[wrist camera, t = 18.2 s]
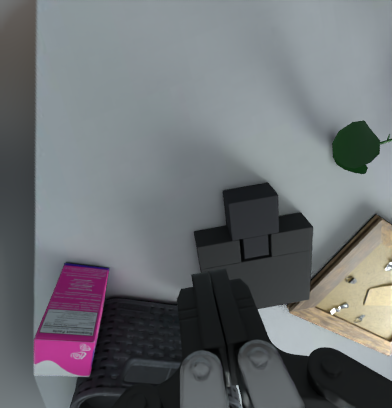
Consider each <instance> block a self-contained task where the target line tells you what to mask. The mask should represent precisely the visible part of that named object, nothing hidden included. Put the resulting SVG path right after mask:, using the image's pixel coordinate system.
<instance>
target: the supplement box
mask: <svg viewBox="0 0 392 408" xmlns="http://www.w3.org/2000/svg"><path fill="white" fill-rule="evenodd" d="M108 273H109V268H103V267H95V266H87V265H79V264H71V263H65V264H64V267H63V269H62V272H61V274H60V277H59V279H58V282H57V284H56V287H55V289H54V292H53V294H52V296H51V299H50V301H49V304H48V306H47V309H46V311H45V314H44V316H43V318H42V321H41V323H40V326H39V328H38V331H37V333H36V336H35V338H34V376H74V377H89V376H90V373H91V368H92V363H93V358H94V353H95V348H96V343H97V338H98V333H99V327H100V322H101V317H102V312H103V307H104V301H105V293H106V286H107V279H108Z"/></svg>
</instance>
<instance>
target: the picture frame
mask: <svg viewBox="0 0 392 408" xmlns="http://www.w3.org/2000/svg"><path fill="white" fill-rule="evenodd" d="M287 308H288V309H289V313H291V314H293V315H295V316H298V317H300V318H302V319H305V320H307V321H309V322H312V323H314V324H316V325H318V326H321V327H323V328H325V329H328V330H330V331H332V332H335V333H337V334H339V335H341V336H344V337H346V338H348V339H351V340H353V341H355V342H358V343H360V344H362V345H365V346H367V347H369V348H371V349H374V350H376V351H378V352H381V353H383V354H385V355H388V356H390V355H391V354H392V224H390V223H389V222H387V221H386V220H384V219H383V218H381V217H380V216H378V215H375V216H374V217H373V218H372V219H371V220H370V221H369V222H368V223H367V224H366V225H365V226H364V228H363V229H362V230H361V231H360V232H359V233H358V234H357V235H356V236H355V237H354V238H353V239H352V240H351V241H350V242H349V243H348V244H347V245H346V246H345V247H344V248H343V249H342V250H341V251H340V252H339V253H338V254H337V255H336V256H335V257H334V258H333V259H332V260H331V261H330V262H329V263H328V264H327V265H326V266H325V267H324V268H323V269H322V270H321V271H320V272H319V273H318V274H317V275H316V276H315V277H314V279H313V280H312V281H311V282H310V297H309V300H304V301H299V302H293V303H289V304H288V305H287Z"/></svg>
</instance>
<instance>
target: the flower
mask: <svg viewBox="0 0 392 408" xmlns="http://www.w3.org/2000/svg"><path fill="white" fill-rule="evenodd" d="M389 136H390V134H389ZM389 136H388V138H387V140H386V141H383V142H380V140H379V139H378V137H377V136H376V135H375V134H374V133H373V132H372V130H371V129H370V128H369V127H368V125H367V124H366V122H365V121H358V122H352V123H351V124H349V125H348V126H346V127H345V128H343V129H342V130H340V131H339V132H338V134H337V136H336V137H335V139H334V141H333V143H332V148H333V158H334V160H335V162H336V164H337V165H338V166H340V167H342V168H343V169H345V170H348V171H351V172H354V173H360V174H365V173H366V171H367V169H368V168H367V166H366V164H368V163H370V162H371V161H372V160H373V159H374V158H375V157H376V156H377V155H378V154H380V145H381V144H384V143H387V142H391V141H392V139H389Z"/></svg>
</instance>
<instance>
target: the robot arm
mask: <svg viewBox="0 0 392 408" xmlns="http://www.w3.org/2000/svg"><path fill="white" fill-rule="evenodd" d="M209 276H210V278H209ZM192 281H193V287H190V288H185V289H181V291H180V293H179V296H178V298H177V303H178V314H179V325H180V336H181V348H182V361H181V364H180V366H179V368H178V370H177V371H176V372H175V373H174V375H173V376H171V377H170V378H169V379H167V380H166V381H164V382H162V383H160V384H159V385H157V386H155V387H154V386H152V385H151V384H148V383H138V384H134V385H132V386H130V387H129V388H128V389H126V390H125V391H124V392H123V393H122V395H121V396H120V397H119V399H118V400H117V401H116V403H115V404H114V405H113V407H112V408H229V400H228V392H227V387H230V379H231V383H232V386H234V385H239V390H240V394H241V398H242V407H243V408H392V381H390V380H389V379H387V378H385V377H383V376H382V375H380V374H378V373H377V372H375V371H373V370H371V369H370V368H368V367H366V366H364V365H363V364H361V363H359V362H357V361H356V360H354V359H352V358H350V357H349V356H347V355H345V354H343V353H342V352H340V351H338V350H335V349H332V348H326V347H324V348H318V349H316V350H314V351H313V352H312V353H311V354H310V356H302V355H294V354H289V353H286V352H283V351H281V350H280V349H278V348H277V347H276V346H274V345H273V343H272V342H271V341H270V339H269V337H268V335H267V332H266V330H265V327H264V325H263V322H262V320H261V317H260V314H259V312H258V309H257V307H256V305H255V302H254V299H253V297H252V294H251V292H250V289H249V287H248V285H247V284H246V283H245V282H244V281H243V280H241V279H240V278H238V279H233V280H229V277H228V274H227V271H226V268H224V269H218V270H213V271H209V274H208V272H203V273H197V274H192ZM228 370H229V371H228ZM229 374H230V379H229Z"/></svg>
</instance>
